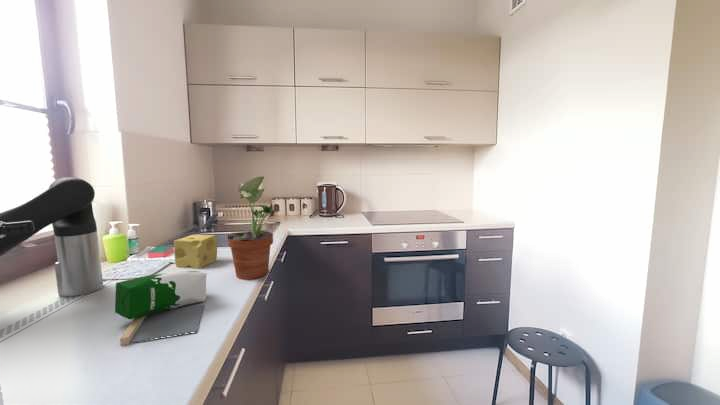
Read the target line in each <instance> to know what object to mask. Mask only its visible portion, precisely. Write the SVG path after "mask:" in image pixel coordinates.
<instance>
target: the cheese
mask: <svg viewBox="0 0 720 405" xmlns="http://www.w3.org/2000/svg"><path fill="white" fill-rule="evenodd" d="M173 251H174V252H173V253H174V262H175V266H176V268H189V267H190V269H202V268H203V267H205V266H207V265H209V264H211V263H215V262H216V261H217V258H218V257H217V256H218V241H217V236H216V234H209V235H208V234H191V235H188V236H185V237H182V238H178V239H175V240H173Z"/></svg>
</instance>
